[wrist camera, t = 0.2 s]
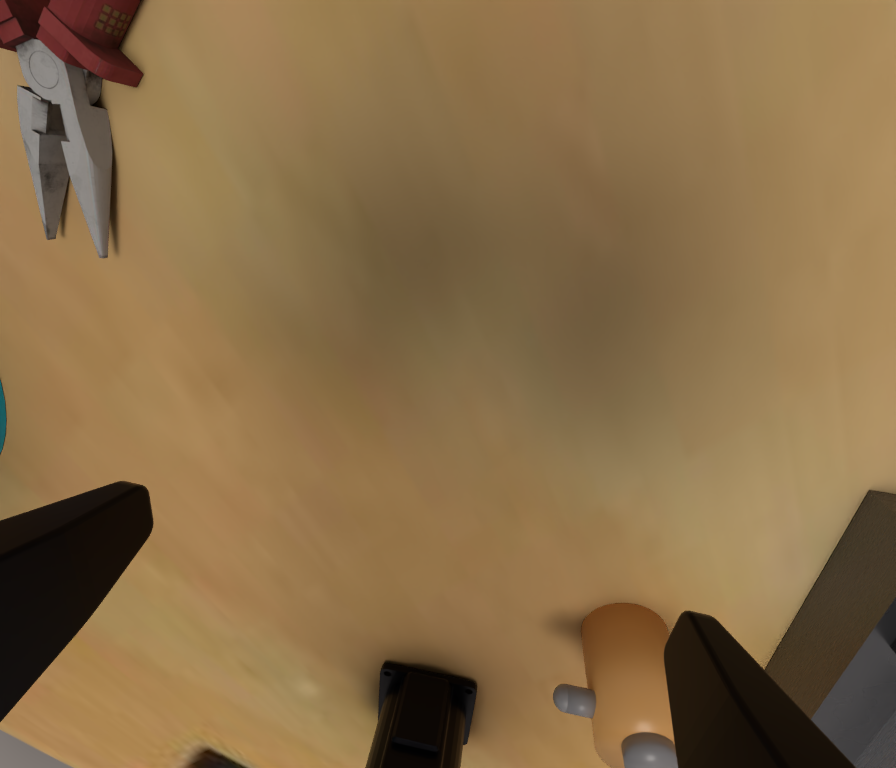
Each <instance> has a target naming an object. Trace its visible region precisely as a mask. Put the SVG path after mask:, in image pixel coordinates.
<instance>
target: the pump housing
mask: <svg viewBox="0 0 896 768" xmlns="http://www.w3.org/2000/svg"><path fill="white" fill-rule="evenodd" d="M581 637H582V645H583V653H584V662H585V670H586V678H587V686H588V689H587V688H582V687H577V686H573V685H568V684H560V685H558V686H557V687H556V688H555V690H554V693H553V700H554V703H555V705H556V707H557V708H558V709H559V710H560V711H562V712H565V713H569V714H574V715H578V716H583V717H587V718H591V719H592V728H593V736H594V744H595V749H596V752H597V754H598V755H599V757H600V758H601V759H602V760H603V761H604V762H605V763H606V764H607V765H609V766H610V767H611V768H678V764H677V757H676V750H675V742H674V735H673V727H672V719H671V712H670V704H669V696H668V689H667V681H666V673H665V666H664V648H665V645H666V642H667V640H668V638H669V633H668V630H667V627H666V625H665V623H664V621H663V620H662V619H661V617H660V616H659V615H657V614H656V613H655V612H653V611H651V610H650V609H648V608H645V607H643V606H640V605H636V604H630V603H615V604H609V605H605V606H602V607H599V608H597V609H595V610H594V611H592V612H591V613H590V614H589V615H588V616H587V617H586V618H585V619H584V621H583V623H582V626H581Z"/></svg>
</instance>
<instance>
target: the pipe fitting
mask: <svg viewBox="0 0 896 768" xmlns="http://www.w3.org/2000/svg"><path fill="white" fill-rule="evenodd" d="M5 434H6V409H5V400H4V395H3V390H2V385H1V381H0V453H1V451H2V448H3V444H4V439H5Z"/></svg>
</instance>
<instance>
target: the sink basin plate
mask: <svg viewBox="0 0 896 768" xmlns="http://www.w3.org/2000/svg"><path fill="white" fill-rule="evenodd" d="M765 671H766V672H767V673H768V675H769V676H770V677H771V678H772V679H773V680H774V681H775V682H776V683H777V684H778V685H779V686H780V687H781V688H782V689H783V690H784V692H785V693H786V694H787V695H788V696H789V697H790V698H791V699H792V700H793V701H794V702H795V703H796V704H797V705H798V706H799V707H800V708H801V710H802V711H803V712H804V713H805V714H806V715H807V716H808V717H809V718H810V719H811V720H812V721H813V722H814V723H815V724H816V725H817V726H818V728H819V729H820V730H821V731H822V732H823V733H824V734H825V735H826V736H827V737H828V738H829V739H830V740H831V741H832V742H833V743H834V745H835V746H836V747H837V748H838V749H839V750H840V751H841V752H842V753H843V754H844V755H845V756H846V757H847V758H848V759H849V760H850V761H851V763H852V764H853V765H854V766H855V767H856V768H896V495H895V494H889V493H883V492H876V491H869V492H868V494H867V496H866V497H865V499H864V501H863V503H862V504H861V506H860V508H859V509H858V511H857V513H856V515H855V516H854V518H853V520H852V522H851V523H850V525H849V527H848V528H847V530H846V532H845V534H844V535H843V537H842V539H841V540H840V542H839V544H838V546H837V547H836V549H835V551H834V552H833V554H832V556H831V558H830V559H829V561H828V563H827V564H826V566H825V568H824V570H823V571H822V573H821V575H820V576H819V578H818V580H817V582H816V583H815V585H814V587H813V588H812V590H811V592H810V594H809V595H808V597H807V599H806V600H805V602H804V604H803V606H802V607H801V609H800V611H799V612H798V614H797V616H796V618H795V619H794V621H793V623H792V624H791V626H790V628H789V630H788V631H787V633H786V635H785V636H784V638H783V640H782V642H781V643H780V645H779V647H778V649H777V650H776V652H775V654H774V655H773V657H772V659H771V661H770V662H769V664H768V666H767V667H766V669H765Z"/></svg>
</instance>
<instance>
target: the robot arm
mask: <svg viewBox="0 0 896 768" xmlns="http://www.w3.org/2000/svg"><path fill="white" fill-rule="evenodd" d="M152 528H153V515H152V509H151V503H150V496H149V492H148V490H147V488H146V487H145V486H143V485H140V484H135V483H131V482H126V481H119V482H115V483H112V484H109V485H106V486H103V487H100V488H97V489H94V490H91V491H88V492H85V493H82V494H79V495H76V496H73V497H70V498H67V499H64V500H61V501H58V502H55V503H52V504H49V505H46V506H43V507H40V508H37V509H34V510H31V511H28V512H25V513H22V514H19V515H16V516H13V517H10V518H7V519H4V520H1V521H0V722H1V721H2V720H3V719H4V717H5V716H6V715H7V714H8V713H9V712H10V710H11V709H12V708H13V707H14V706H15V705H16V703H17V702H18V701H19V700H20V699H21V698H22V697H23V695H24V694H25V693H26V692H27V691H28V690H29V688H30V687H31V686H32V685H33V684H34V683H35V681H36V680H37V679H38V678H39V677H40V676H41V675H42V673H43V672H44V671H45V670H46V669H47V668H48V666H49V665H50V664H51V663H52V662H53V661H54V659H55V658H56V657H57V656H58V655H59V654H60V653H61V651H62V650H63V649H64V648H65V647H66V646H67V644H68V643H69V642H70V641H71V640H72V639H73V637H74V636H75V635H76V634H77V633H78V632H79V630H80V629H81V628H82V627H83V625H84V624H85V623H86V622H87V621H88V619H89V618H90V617H91V615H92V614H93V613H94V612H95V610H96V609H97V608H98V606H99V605H100V604H101V602H102V601H103V600H104V598H105V597H106V595H107V594H108V593H109V591H110V590H111V588H112V587H113V586H114V584H115V583H116V582H117V580H118V579H119V577H120V576H121V575H122V573H123V572H124V571H125V569H126V568H127V566H128V565H129V564H130V562H131V561H132V560H133V558H134V557H135V555H136V554H137V553H138V551H139V550H140V549H141V547H142V546H143V544H144V543H145V542H146V540H147V539H148V537H149V536H150V534H151V532H152ZM664 666H665V673H666V681H667V689H668V696H669V704H670V712H671V719H672V727H673V735H674V742H675V750H676V757H677V764H678V768H856V767H855V766H854V765H853V764H852V763H851V761H850V760H849V759H848V758H847V757H846V756H845V755H844V754H843V753H842V752H841V751H840V750H839V749H838V748H837V747H836V746H835V745H834V743H833V742H832V741H831V740H830V739H829V738H828V737H827V736H826V735H825V734H824V733H823V732H822V731H821V730H820V729H819V728H818V726H817V725H816V724H815V723H814V722H813V721H812V720H811V719H810V718H809V717H808V716H807V715H806V714H805V713H804V712H803V711H802V710H801V708H800V707H799V706H798V705H797V704H796V703H795V702H794V701H793V700H792V699H791V698H790V697H789V696H788V695H787V694H786V693H785V692H784V690H783V689H782V688H781V687H780V686H779V685H778V684H777V683H776V682H775V681H774V680H773V679H772V678H771V677H770V676H769V675H768V673H767V672H766V671H765V670H764V669H763V668H762V667H761V666H760V665H759V664H758V663H757V662H756V661H755V660H754V659H753V658H752V657H751V655H750V654H749V653H748V652H747V651H746V650H745V649H744V648H743V647H742V646H741V645H740V644H739V643H738V642H737V641H736V640H735V639H734V637H733V636H732V635H731V634H730V633H729V632H728V631H727V630H726V629H725V628H724V627H723V626H722V625H721V624H720V623H719V622H718V621H717V620H716V619H715V618H714V617H712V616H710V615H706V614H702V613H697V612H693V611H684V612H683V613H681V615H680V616H679V618H678V620H677V622H676V624H675V626H674V628H673V630H672V632H671V634H670V636H669V638H668V640H667V642H666V645H665V648H664ZM476 693H477V685H476V683H474V682H472V681H469V680H464V679H459V678H455V677H450V676H446V675H441V674H436V673H432V672H427V671H422V670H418V669H413V668H409V667H404V666H399V665H395V664H390V663H385V664H383V665H382V668H381V671H380V689H379V712H378V724H377V728H376V731H375V735H374V738H373V742H372V746H371V749H370V753H369V757H368V760H367V764H366V767H365V768H460V766H461V757H462V748H463V745H465V744H467V742H468V737H469V731H470V726H471V720H472V715H473V709H474V704H475V699H476Z"/></svg>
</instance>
